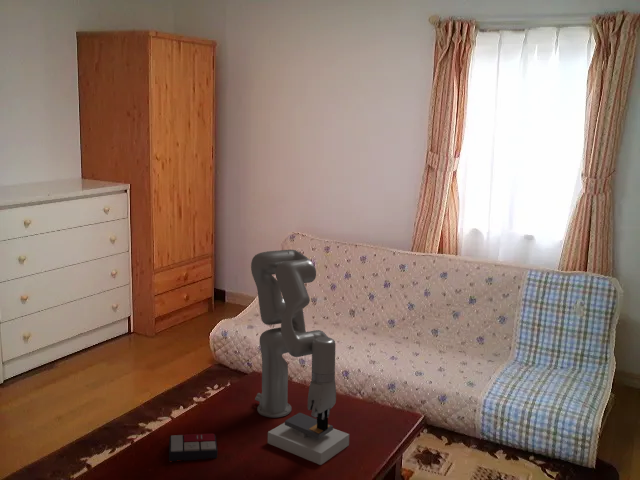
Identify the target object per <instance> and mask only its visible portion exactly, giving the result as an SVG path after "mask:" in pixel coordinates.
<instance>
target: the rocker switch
mask: <svg viewBox="0 0 640 480" xmlns="http://www.w3.org/2000/svg"><path fill="white" fill-rule="evenodd" d="M284 423H285V425H286V426H289V427H291V428H293V429H296V430H298V431H300V432H303V433H305V434H307V435H310V436H312V437H314V438H317V439H320V438H321V437H323V436H324V435H326V434H327V433H329V432H330V431H332V430H333V428H334V425H332V424H329V423H328V429H327V430H325V431H323V430H321V429H318V428H317V418H316V417H312V416H309V415H308V414H304V413H303V412H298V413H296V414H295V415H293V416H291V417H289V418H286V420H284Z"/></svg>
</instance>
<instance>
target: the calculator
mask: <svg viewBox="0 0 640 480" xmlns="http://www.w3.org/2000/svg"><path fill="white" fill-rule="evenodd" d="M216 435H217V434H215V433H194V434H193V433H192V434H191V433H190V434H189V433H188V434H177V435H169V443H168V446H169V447H168V462H169V461H177V460H184V461H198V460H197V459H202V460H209V459H208V458H211V459H212V458H213V459H217V458H218V451H219V450H218V444H217V436H216ZM206 458H207V459H206ZM211 459H210V460H211Z"/></svg>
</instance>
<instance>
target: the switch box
mask: <svg viewBox="0 0 640 480" xmlns="http://www.w3.org/2000/svg"><path fill="white" fill-rule="evenodd" d="M267 444H268V445H271V446H274V447H275V448H279V449H281V450H283V451H285V452H288V453H290V454H293V455H296V456H298V457H300V458H302V459H305V460H307V461H310V462H311V463H315V464H317V465H319V466H322V465H323V464H325V463H326V462H328V461H329V460H331V459H332V458H333V457H335V456H336V455H337V454H339V453H340V452H342V451H343V450H344V449H346V448H347V447H349V445H350V433H347V432H345V431H341V430H339V429H336V428H334V427H333V430H332V431H330V432H329V433H327V434H326V435H324V436H323V437H321V438H320V439H317V438H314V437H312V436H310V435H307V434H305V433H303V432H300V431H298V430H296V429H293V428H291V427H289V426H286V425H285V422H283V423H281V424H280V425H278V426H276V427H275V428H272V429H271V430H268V432H267Z"/></svg>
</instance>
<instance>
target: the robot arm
mask: <svg viewBox="0 0 640 480" xmlns="http://www.w3.org/2000/svg"><path fill="white" fill-rule="evenodd" d="M250 264H251V265H250V269H251V271H250V272H251V275H252V277H253V280H254V283H255V286H256V289H257V299H258V307H259V313H260V319H261V321H262V323H263V324H264V325H267V326H271V325H272V326H273V325H280V326H279V327H275V328H270V329H267V330H264V331H262V333H261V334H260V336H259V348H260V353H261V393H260V392H257V394H256V396H255V398H254V400H255V401H257V402H259V405H258V406H257V413H258V414H259V415H260V416H263V417H266V418H270V419H271V418H273V419H274V418H276V419H277V418H282V417H285V416H288V415H289V414H291V412H292V405H291V404H290V403H288V391H289V389H288V387H289V386H288V385H289V384H288V383H289V367H288V362H287V360H286V359H285V358H284V357H283V355H284V354H289V355H290V356H291V357H294V358H300V357H305V356H306V357H307V356H310V355H311V380H310V384H309V387H308V395H307V396H308V397H307V410H308V411H311V414H310V415H311V416H310V417H312V418H315V419H317V428H318V429H321V430H323V431H325V430H327V429H328V424H329V417H330V412H331V409H332V408H333V407H334V406H335V404H336V402H337V386H336V385H337V384H336V346H337V345H336V341H335V339H333V338H331V337H329V336H328V335H327V333H326V332H324V331H323V330H321V329H317V330H316V329H315V330H310V331H309V330H308V331H306V323H305V322H306V321H305V315H304V314H305V313H304V308H306V307H308V306H309V304H310V301H311V300H310V296H309V292H308V290H307V287H306V285H305V284H308V283H310V284H311V283H312V282H314V281H315V279H316V278H317V268H316V266H315V264H314V263H313V262H312V260H311V259H310V258H308V257H307V256H306V255H304V254H303V253H302V252H300V251H298V250H295V249H281V250H279V249H278V250H269V251H263V252H259V253H257V254H254V256H253V257H252V258H251V263H250ZM273 275H275V276H273Z"/></svg>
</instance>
